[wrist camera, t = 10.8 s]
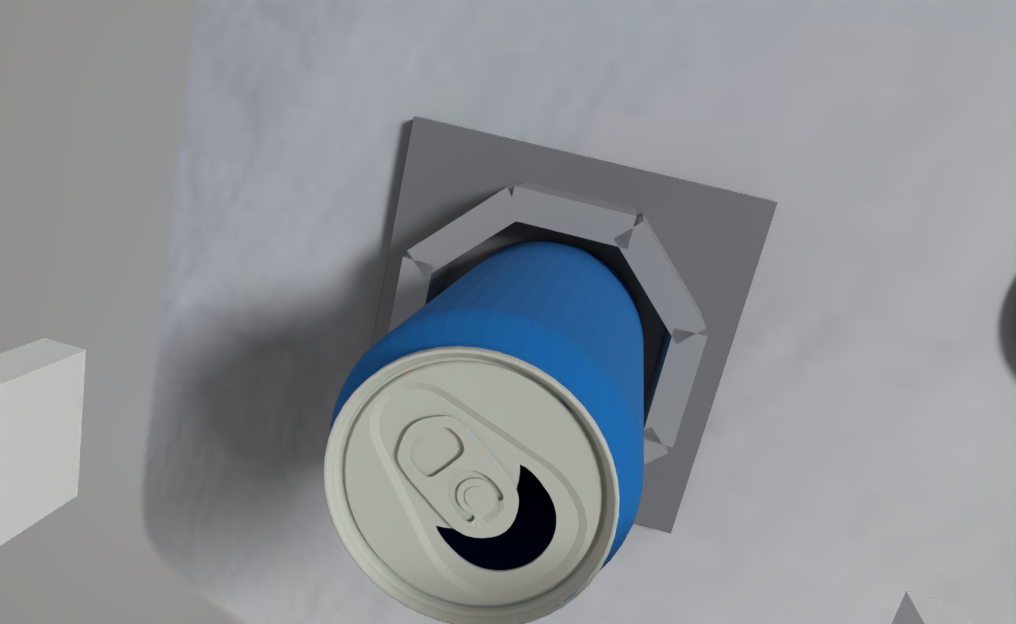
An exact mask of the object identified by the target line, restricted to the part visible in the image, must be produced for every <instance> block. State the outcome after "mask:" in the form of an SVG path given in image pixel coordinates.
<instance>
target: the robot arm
mask: <svg viewBox="0 0 1016 624" xmlns="http://www.w3.org/2000/svg"><path fill="white" fill-rule="evenodd" d="M85 355H86V350H84V349H81V348H77V347H74V346H71V345H67V344H63V343H60V342H57V341H53V340H50V339H47V338H43V339H40V340H37V341H34V342H31V343H29V344H26V345H23V346H20V347H17V348H15V349H11V350H9V351H6V352H3V353H1V354H0V546H1V545H2V544H4V543H5V542H7V541H9V540H10V539H12V538H13V537H15V536H16V535H18V534H19V533H21V532H22V531H24V530H25V529H27V528H29V527H30V526H32V525H33V524H35V523H36V522H38V521H39V520H41V519H42V518H44V517H45V516H47V515H48V514H50V513H52V512H53V511H55V510H56V509H58V508H59V507H61V506H62V505H64V504H65V503H67V502H68V501H70V500H71V499H73V498H75V497H76V496H78V482H79V464H80V446H81V427H82V410H83V392H84V373H85ZM892 624H972V622H971V621H970V619H969V618H968V616H967V615H966V613H965V612H964V610H963V609H962V607H958V606H955V605H951V604H948V603H945V602H941V601H938V600H934V599H931V598H928V597H924V596H921V595H917V594H914V593H911V592H907V591H906V593H905V595H904V598H903V600H902V602H901V604H900V607H899V609H898V611H897V613H896V616H895V618H894V620H893V622H892Z"/></svg>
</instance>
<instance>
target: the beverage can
mask: <svg viewBox="0 0 1016 624" xmlns="http://www.w3.org/2000/svg"><path fill="white" fill-rule="evenodd" d="M323 475H324V490H325V496H326V501H327V506H328V510H329V513H330V516H331V519H332V522H333V525H334V527H335V529H336V531H337V533H338V536H339V538H340V540H341V542H342V543H343V545H344V547H345V548H346V550H347V551H348V553H349V555H350V556H351V557H352V559H353V560H354V561H355V563H356V564H357V565H358V566H359V568H360V569H361V570H362V571H363V572H364V573H365V574H366V575H367V576H368V577H369V578H370V579H371V580H372V581H373V583H374V584H376V585H377V586H378V587H379V588H381V589H382V590H383V591H384V592H385V593H387V594H388V595H389V596H391V597H392V598H394V599H395V600H397V601H398V602H400V603H401V604H403V605H405V606H406V607H408V608H410V609H412V610H414V611H416V612H418V613H420V614H422V615H425V616H428V617H430V618H433V619H436V620H439V621H442V622H446V623H450V624H524V623H528V622H531V621H534V620H537V619H539V618H542V617H545V616H547V615H549V614H551V613H553V612H554V611H556V610H558V609H560V608H562V607H563V606H565V605H566V604H567V603H569V602H570V601H572V600H573V599H574V598H576V597H577V596H578V595H579V594H580V593H581V592H582V591H583V590H584V589H585V588H586V587H587V586H588V585H589V584H590V583H591V581H592V580H593V579H594V577H595V576H596V575H597V573H598V572H599V571H600V570H601V569H602V568H603V567H604V566H605V565H606V564H607V563H608V562H609V561H610V560H611V558H612V557H613V556H614V555H615V553H616V552H617V551H618V549H619V548H620V547H621V545H622V543H623V542H624V540H625V538H626V536H627V534H628V533H629V531H630V529H631V527H632V525H633V522H634V519H635V517H636V514H637V511H638V509H639V504H640V499H641V495H642V490H643V476H644V371H643V326H642V320H641V316H640V311H639V309H638V306H637V303H636V301H635V298H634V296H633V295H632V293H631V291H630V289H629V287H628V286H627V284H626V283H625V282H624V280H623V279H622V277H621V276H620V275H619V274H618V273H617V272H616V271H615V270H614V269H613V268H612V267H611V266H610V265H609V264H607V263H606V262H605V261H604V260H602V259H601V258H599V257H598V256H596V255H595V254H593V253H591V252H589V251H587V250H585V249H583V248H581V247H578V246H575V245H572V244H568V243H564V242H559V241H551V240H536V241H526V242H522V243H518V244H514V245H511V246H509V247H506V248H503V249H501V250H499V251H498V252H496V253H494V254H492V255H491V256H489V257H488V258H486V259H485V260H484V261H482V262H481V263H480V264H478V265H477V266H476V267H474V268H473V269H472V270H471V271H469V272H468V273H467V274H465V275H464V276H463V277H461V278H460V279H459V280H457V281H456V282H455V283H454V284H452V285H451V286H450V287H448V288H447V289H446V290H444V291H443V292H442V293H440V294H439V295H438V296H437V297H435V298H434V299H433V300H431V301H430V302H429V303H427V304H426V305H425V306H423V307H422V308H421V309H420V310H418V311H417V312H416V313H414V314H413V315H412V316H410V317H409V318H408V319H406V320H405V321H404V322H402V323H401V324H400V325H399V326H397V327H396V328H395V329H393V330H392V331H391V332H389V333H388V334H387V335H385V336H384V337H383V338H382V339H380V340H379V341H378V342H376V343H375V344H374V345H373V346H372V347H371V348H370V349H369V350H368V351H367V352H366V353H365V354H364V355H363V356H362V358H361V359H360V360H359V362H358V363H357V364H356V366H355V367H354V368H353V369H352V371H351V373H350V374H349V376H348V378H347V380H346V382H345V383H344V385H343V387H342V390H341V392H340V395H339V397H338V400H337V403H336V405H335V408H334V413H333V417H332V422H331V427H330V435H329V437H328V442H327V446H326V451H325V457H324V469H323Z"/></svg>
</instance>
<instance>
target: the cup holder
mask: <svg viewBox="0 0 1016 624" xmlns="http://www.w3.org/2000/svg"><path fill="white" fill-rule="evenodd" d="M776 205H777V202H774V201H771V200H766V199H762V198H758V197H754V196H749V195H745V194H741V193H737V192H733V191H728V190H724V189H720V188H716V187H712V186H707V185H703V184H699V183H695V182H690V181H686V180H682V179H678V178H674V177H669V176H665V175H661V174H657V173H653V172H648V171H644V170H640V169H636V168H631V167H627V166H623V165H619V164H615V163H610V162H606V161H602V160H598V159H594V158H589V157H585V156H581V155H577V154H572V153H568V152H564V151H560V150H556V149H551V148H547V147H543V146H539V145H535V144H530V143H526V142H522V141H518V140H513V139H509V138H505V137H501V136H497V135H492V134H488V133H484V132H480V131H476V130H471V129H467V128H463V127H459V126H454V125H450V124H446V123H442V122H438V121H433V120H429V119H425V118H421V117H414V118H413V123H412V129H411V134H410V140H409V145H408V151H407V156H406V162H405V167H404V172H403V178H402V183H401V189H400V194H399V200H398V205H397V211H396V216H395V222H394V227H393V233H392V238H391V243H390V249H389V254H388V260H387V265H386V271H385V276H384V282H383V287H382V293H381V298H380V304H379V309H378V314H377V320H376V325H375V331H374V336H373V342H372V346H373V345H374V344H375V343H376V342H378V341H379V340H380V339H382V338H383V337H384V336H385V335H387V334H388V333H389V332H391V331H392V330H393V329H395V328H396V327H397V326H399V325H400V324H401V323H402V322H404V321H405V320H406V319H408V318H409V317H410V316H412V315H413V314H414V313H416V312H417V311H418V310H420V309H421V308H422V307H423V306H425V305H426V304H427V303H429V302H430V301H431V300H433V299H434V298H435V297H437V296H438V295H439V294H440V293H442V292H443V291H444V290H446V289H447V288H448V287H450V286H451V285H452V284H454V283H455V282H456V281H457V280H459V279H460V278H461V277H463V276H464V275H465V274H467V273H468V272H469V271H471V270H472V269H473V268H474V267H476V266H477V265H478V264H480V263H481V262H482V261H484V260H485V259H486V258H488V257H489V256H491V255H492V254H494V253H496V252H498V251H499V250H501V249H503V248H506V247H509V246H511V245H514V244H518V243H522V242H526V241H536V240H551V241H559V242H564V243H568V244H572V245H575V246H578V247H581V248H583V249H585V250H587V251H589V252H591V253H593V254H595V255H596V256H598V257H599V258H601V259H602V260H604V261H605V262H606V263H607V264H609V265H610V266H611V267H612V268H613V269H614V270H615V271H616V272H617V273H618V274H619V275H620V276H621V277H622V279H623V280H624V282H625V283H626V284H627V286H628V287H629V289H630V291H631V293H632V295H633V296H634V298H635V301H636V303H637V306H638V309H639V311H640V316H641V320H642V326H643V371H644V476H643V490H642V495H641V499H640V504H639V509H638V511H637V514H636V517H635V519H634V522H633V523H636V524H640V525H643V526H647V527H650V528H654V529H657V530H660V531H664V532H667V533H671V531H672V528H673V525H674V522H675V519H676V515H677V512H678V509H679V506H680V503H681V500H682V497H683V494H684V491H685V488H686V484H687V481H688V478H689V475H690V472H691V469H692V466H693V463H694V460H695V456H696V453H697V450H698V447H699V444H700V441H701V438H702V435H703V432H704V429H705V425H706V422H707V419H708V416H709V413H710V410H711V407H712V404H713V401H714V398H715V394H716V391H717V388H718V385H719V382H720V379H721V376H722V373H723V370H724V366H725V363H726V360H727V357H728V354H729V351H730V348H731V345H732V342H733V339H734V335H735V332H736V329H737V326H738V323H739V320H740V317H741V314H742V311H743V308H744V304H745V301H746V298H747V295H748V292H749V289H750V286H751V283H752V280H753V276H754V273H755V270H756V267H757V264H758V261H759V258H760V255H761V252H762V249H763V245H764V242H765V239H766V236H767V233H768V230H769V227H770V224H771V221H772V217H773V214H774V211H775V208H776Z"/></svg>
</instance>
